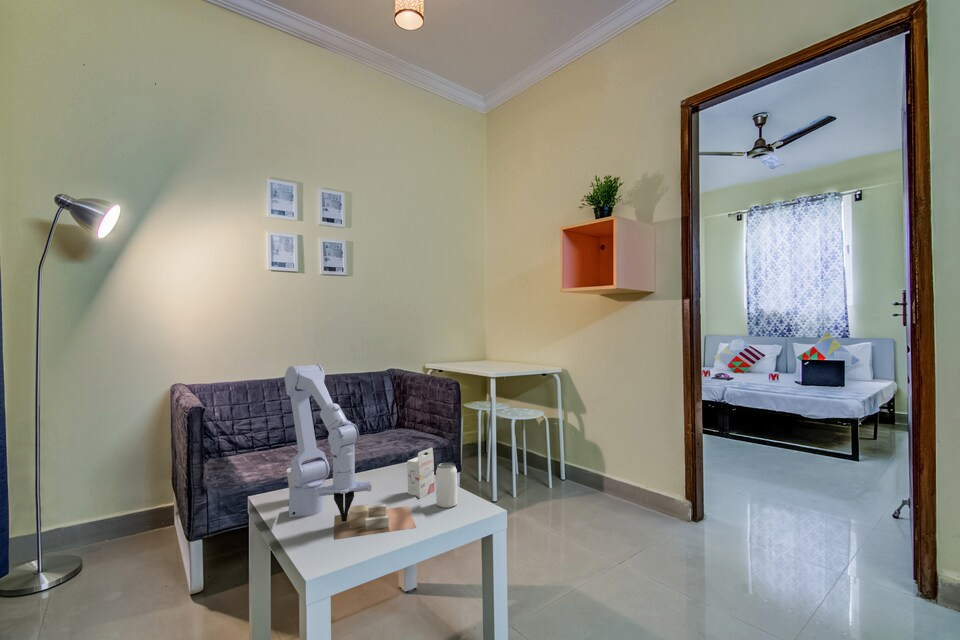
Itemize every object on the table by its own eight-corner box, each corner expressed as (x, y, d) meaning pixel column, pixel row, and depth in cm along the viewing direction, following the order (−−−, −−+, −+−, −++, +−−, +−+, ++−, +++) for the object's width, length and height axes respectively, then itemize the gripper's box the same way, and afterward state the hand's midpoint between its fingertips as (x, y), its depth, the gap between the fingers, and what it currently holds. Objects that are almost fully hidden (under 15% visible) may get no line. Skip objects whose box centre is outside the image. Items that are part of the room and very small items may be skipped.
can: (461, 503, 138) (461, 464, 138) (446, 510, 133) (445, 469, 134) (447, 498, 142) (446, 461, 143) (432, 504, 138) (431, 465, 138)
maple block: (349, 528, 119) (349, 513, 119) (349, 521, 124) (349, 506, 124) (368, 525, 121) (368, 510, 121) (367, 518, 126) (367, 504, 126)
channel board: (333, 543, 113) (333, 529, 113) (334, 519, 128) (334, 506, 128) (416, 531, 119) (416, 518, 119) (408, 509, 134) (407, 497, 134)
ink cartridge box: (422, 488, 153) (422, 445, 153) (434, 490, 150) (434, 446, 151) (407, 496, 145) (406, 451, 146) (419, 499, 143) (418, 452, 143)
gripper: (314, 477, 116) (314, 530, 115) (371, 471, 120) (372, 522, 120) (316, 469, 123) (316, 519, 122) (370, 464, 127) (370, 512, 126)
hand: (344, 520), depth 121 cm, fingers closed
